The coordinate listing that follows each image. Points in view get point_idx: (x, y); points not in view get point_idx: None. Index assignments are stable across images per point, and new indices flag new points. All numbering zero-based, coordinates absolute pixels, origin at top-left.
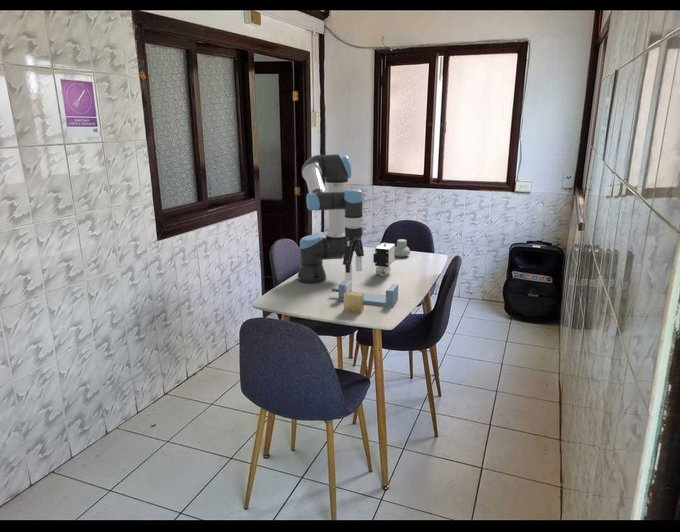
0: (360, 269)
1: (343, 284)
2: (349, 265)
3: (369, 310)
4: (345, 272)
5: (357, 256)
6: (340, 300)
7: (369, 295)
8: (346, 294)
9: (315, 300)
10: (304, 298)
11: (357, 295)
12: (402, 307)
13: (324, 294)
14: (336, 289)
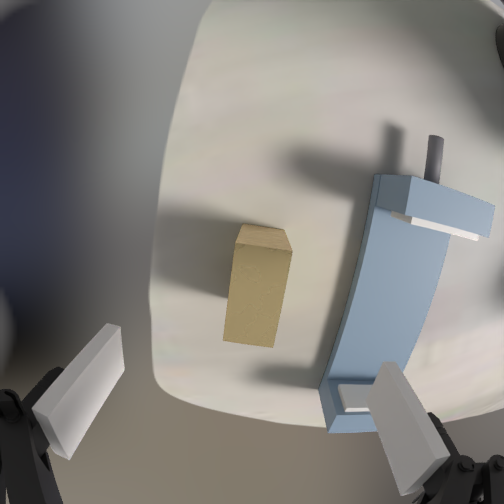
0: (372, 403)
1: (416, 206)
2: (42, 438)
3: None
4: (75, 359)
5: (432, 469)
6: (373, 183)
7: (409, 308)
8: (234, 260)
9: (353, 71)
10: (363, 28)
11: (230, 322)
12: (314, 412)
13: (428, 104)
14: (433, 158)
